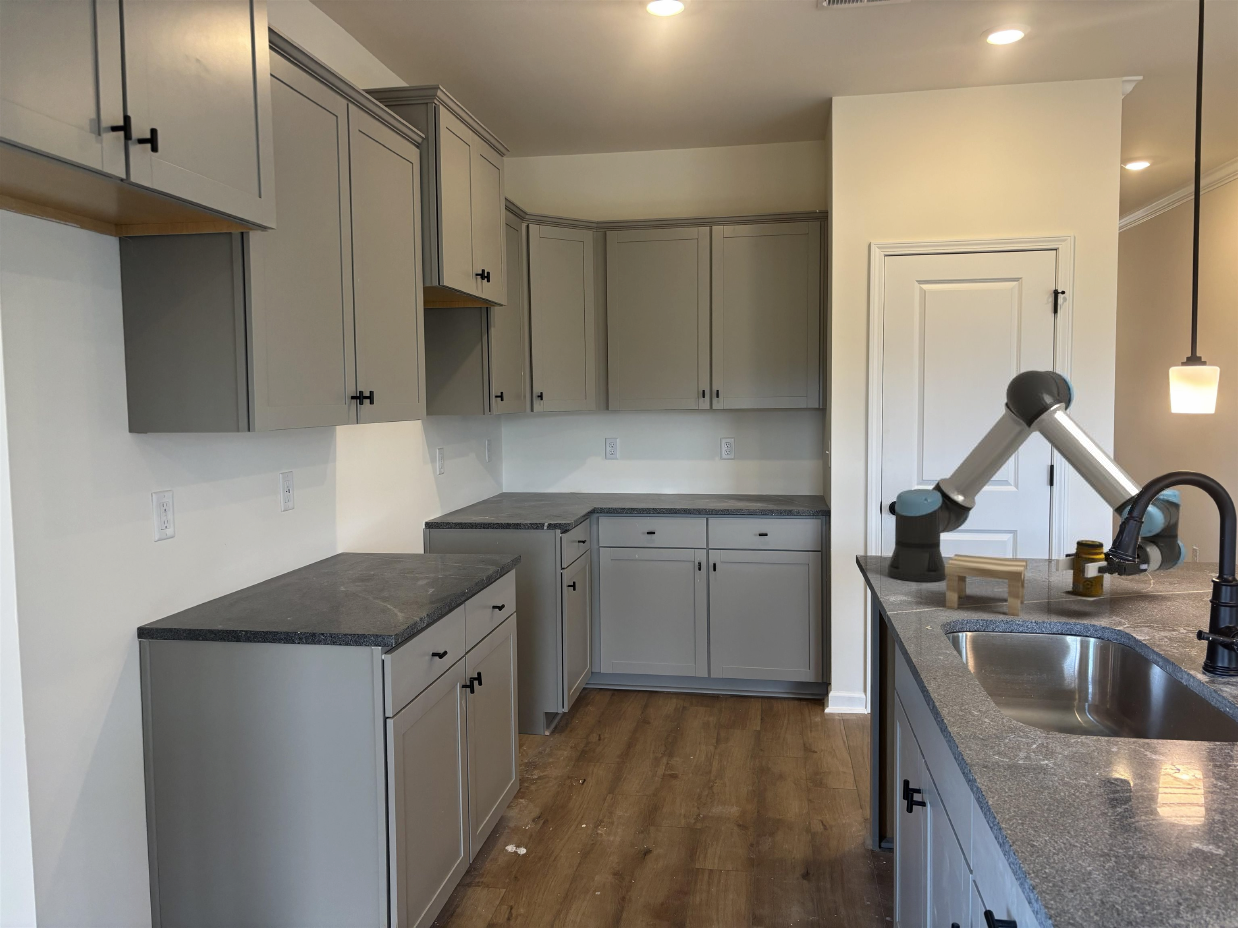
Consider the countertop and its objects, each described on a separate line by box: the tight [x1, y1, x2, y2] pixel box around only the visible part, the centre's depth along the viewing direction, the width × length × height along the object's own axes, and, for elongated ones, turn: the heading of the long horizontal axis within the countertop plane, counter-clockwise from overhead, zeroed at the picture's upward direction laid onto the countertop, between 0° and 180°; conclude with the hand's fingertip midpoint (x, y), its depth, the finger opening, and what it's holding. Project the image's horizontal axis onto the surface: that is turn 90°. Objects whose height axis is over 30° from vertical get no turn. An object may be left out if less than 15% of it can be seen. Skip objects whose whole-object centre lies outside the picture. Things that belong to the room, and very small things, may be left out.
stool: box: [945, 553, 1028, 617], centre depth 195 cm, size 16×16×10 cm
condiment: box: [1058, 539, 1111, 601], centre depth 185 cm, size 7×8×12 cm
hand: (1072, 567), depth 182 cm, fingers closed on condiment, 6 cm apart
